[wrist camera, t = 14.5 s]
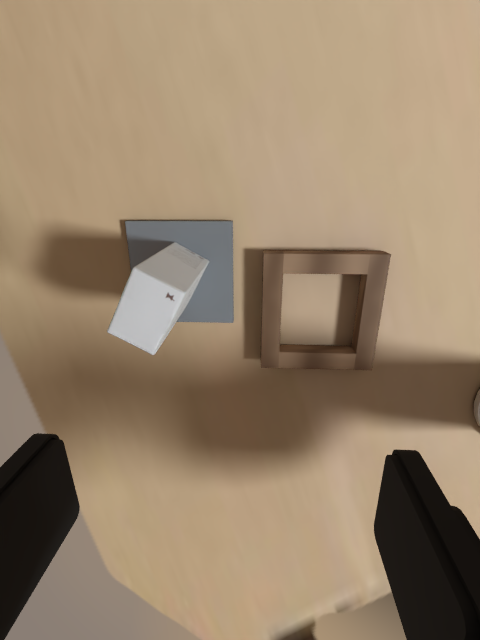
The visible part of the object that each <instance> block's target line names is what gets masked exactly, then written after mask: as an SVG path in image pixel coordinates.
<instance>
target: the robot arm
mask: <svg viewBox="0 0 480 640" xmlns="http://www.w3.org/2000/svg"><path fill="white" fill-rule="evenodd" d="M474 416H475V419H476V421H477V424H478V425H479V426H480V389H479V391H478V392H477V395H476V398H475V401H474ZM78 514H79V502H78V498H77V494H76V490H75V486H74V482H73V478H72V474H71V470H70V466H69V462H68V458H67V454H66V450H65V446H64V443H63V441H62V440H60V439H59V437H58V436H57V435H55V434H34V435H32V436H31V437H30V438H29V439H28V440H27V441H26V442H25V443H24V444H23V445H22V446H21V447H20V448H19V449H18V450H17V451H16V452H15V453H14V454H13V455H12V456H11V457H10V458H9V459H8V460H7V461H6V462H5V463H4V464H3V465H2V466H1V467H0V640H4V639H5V637H6V636H7V634H8V632H9V631H10V629H11V627H12V626H13V624H14V622H15V621H16V619H17V617H18V616H19V614H20V612H21V611H22V609H23V607H24V606H25V604H26V602H27V601H28V599H29V597H30V596H31V594H32V592H33V591H34V589H35V587H36V586H37V584H38V582H39V581H40V579H41V577H42V576H43V574H44V572H45V571H46V569H47V567H48V566H49V564H50V562H51V561H52V559H53V557H54V556H55V554H56V552H57V551H58V549H59V547H60V546H61V544H62V542H63V541H64V539H65V537H66V536H67V534H68V532H69V531H70V529H71V527H72V526H73V524H74V522H75V521H76V519H77V516H78ZM374 533H375V539H376V542H377V545H378V549H379V552H380V555H381V558H382V561H383V565H384V568H385V571H386V574H387V577H388V581H389V584H390V587H391V590H392V593H393V597H394V600H395V603H396V606H397V610H398V613H399V616H400V619H401V622H402V625H403V629H404V632H405V635H406V638H407V640H480V539H479V538H478V536H477V534H476V533H475V531H474V530H473V528H472V526H471V525H470V523H469V521H468V520H467V518H466V517H465V515H464V514H463V513H462V511H461V510H460V509H459V508H457V507H455V506H450V504H449V502H448V501H447V499H446V497H445V496H444V494H443V492H442V490H441V489H440V487H439V485H438V484H437V482H436V480H435V479H434V477H433V475H432V473H431V472H430V470H429V468H428V467H427V465H426V463H425V462H424V460H423V458H422V456H421V455H420V453H419V452H418V451H415V450H394V451H393V453H392V455H387V456H386V459H385V465H384V470H383V476H382V482H381V487H380V493H379V499H378V505H377V510H376V516H375V522H374Z"/></svg>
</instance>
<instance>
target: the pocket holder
mask: <svg viewBox="0 0 480 640" xmlns="http://www.w3.org/2000/svg"><path fill="white" fill-rule="evenodd" d="M390 257H391V254H389V253H387V252H384V251H288V250H263V291H262V332H261V368H303V369H346V370H372V366H373V360H374V354H375V348H376V342H377V336H378V330H379V324H380V318H381V312H382V306H383V300H384V294H385V287H386V281H387V275H388V269H389V263H390ZM283 273H290V274H361V278H360V286H359V293H358V300H357V308H356V315H355V323H354V330H353V337H352V345H351V346H325V345H280V325H281V304H282V283H283Z"/></svg>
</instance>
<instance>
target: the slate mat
mask: <svg viewBox="0 0 480 640" xmlns="http://www.w3.org/2000/svg"><path fill="white" fill-rule="evenodd" d="M125 225H126V233H127V242H128V250H129V258H130V266H131V272H132V269H133V267H135V266H137V265H138V264H140V263H141V262H143V261H145V260H146V259H148V258H150V257H151V256H153V255H154V254H156V253H158V252H159V251H161V250H163V249H164V248H166V247H168V246H169V245H171V244H172V243H174V242H176V243H178V244H179V245H181V246H183V247H185V248H187V249H189V250H190V251H192V252H194V253H196V254H198V255H200V256H201V257H203V258H205V259H207V260H209V263H208V265H207V267H206V269H205V271H204V273H203V275H202V277H201V279H200V281H199V283H198V285H197V287H196V289H195V291H194V293H193V295H192V297H191V299H190V301H189V302H188V304H187V306H186V308H185V309H184V311H183V312H182V314H181V315H180V317H179V318H178V320H177V321H176V322H223V323H233V320H234V315H233V221H125Z"/></svg>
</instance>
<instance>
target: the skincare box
mask: <svg viewBox="0 0 480 640" xmlns="http://www.w3.org/2000/svg"><path fill="white" fill-rule="evenodd" d="M208 263H209V260H207V259H205V258H203V257H201V256H200V255H198V254H196V253H194V252H192V251H190V250H189V249H187V248H185V247H183V246H181V245H179V244H178V243H176V242H174V243H172V244H171V245H169V246H168V247H166V248H164V249H163V250H161V251H159V252H158V253H156V254H154V255H153V256H151V257H150V258H148V259H146V260H145V261H143V262H141V263H140V264H138V265H137V266H135V267H133V269H132V272H131V274H130V276H129V279H128V281H127V283H126V285H125V288H124V290H123V293H122V295H121V298H120V301H119V303H118V306H117V308H116V311H115V313H114V316H113V318H112V321H111V323H110V326H109V328H108V330H107V332H108V333H110V334H112V335H114V336H116V337H118V338H120V339H122V340H124V341H126V342H128V343H130V344H132V345H134V346H136V347H138V348H140V349H142V350H144V351H146V352H148V353H149V354H151V355H155V353H156V352H157V350H158V349H159V347H160V346H161V344H162V343H163V341H164V340H165V338H166V337H167V335H168V334H169V332H170V331H171V329H172V328H173V326H174V325H175V323H176V321H177V320H178V318H179V317H180V315H181V314H182V312H183V311H184V309H185V308H186V306H187V304H188V302H189V301H190V299H191V297H192V295H193V293H194V291H195V289H196V287H197V285H198V283H199V281H200V279H201V277H202V275H203V273H204V271H205V269H206V267H207V265H208Z"/></svg>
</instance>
